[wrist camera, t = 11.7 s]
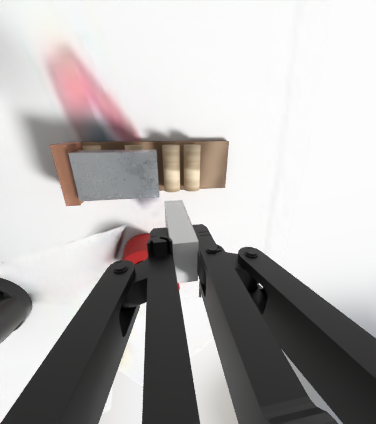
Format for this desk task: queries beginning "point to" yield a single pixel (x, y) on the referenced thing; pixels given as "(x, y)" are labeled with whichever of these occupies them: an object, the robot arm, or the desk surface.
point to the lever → (137, 249)
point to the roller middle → (171, 167)
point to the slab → (115, 174)
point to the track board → (209, 163)
